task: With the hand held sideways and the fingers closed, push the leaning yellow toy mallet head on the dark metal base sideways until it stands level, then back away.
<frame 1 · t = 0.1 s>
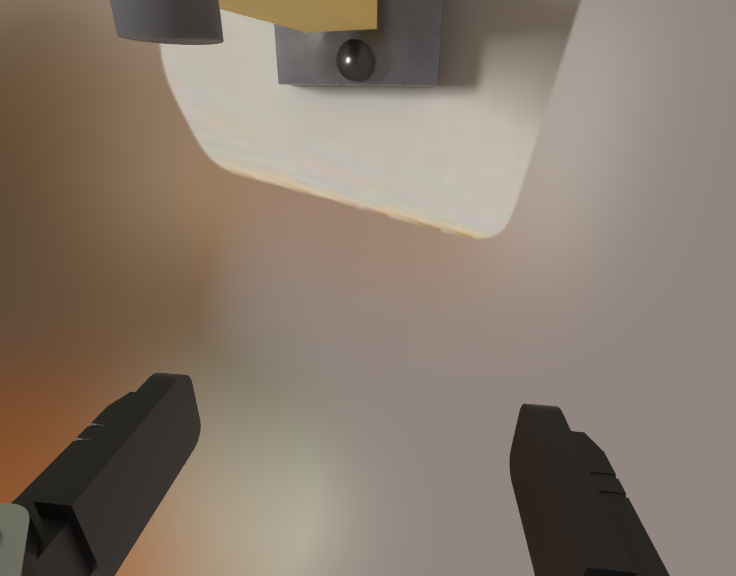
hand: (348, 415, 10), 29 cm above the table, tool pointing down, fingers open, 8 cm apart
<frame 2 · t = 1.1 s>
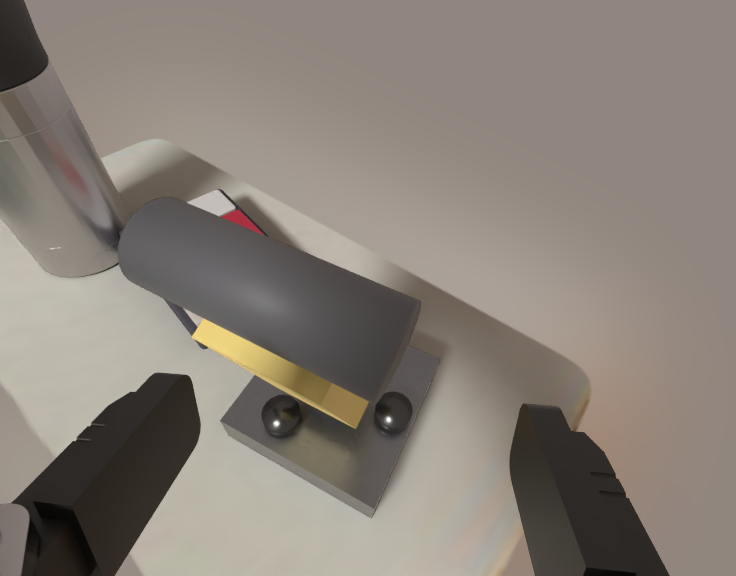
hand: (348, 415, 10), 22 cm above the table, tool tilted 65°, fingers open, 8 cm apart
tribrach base: (337, 404, 33), on the table
yellow toy mallet: (311, 346, 21), point 13 cm above the table, hinge at 18.0°
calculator: (217, 274, 41), on the table
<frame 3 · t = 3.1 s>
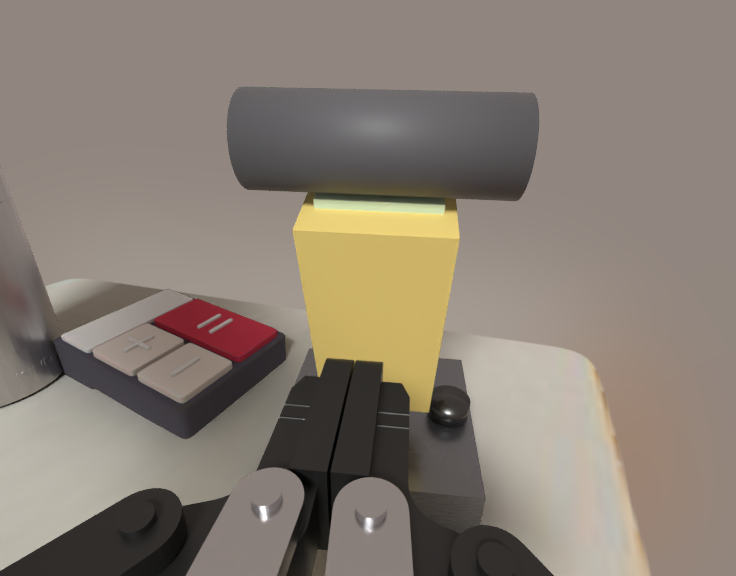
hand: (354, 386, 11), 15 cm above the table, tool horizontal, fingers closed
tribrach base: (376, 440, 28), on the table
yellow toy mallet: (379, 287, 20), point 13 cm above the table, hinge at 18.0°
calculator: (180, 370, 35), on the table
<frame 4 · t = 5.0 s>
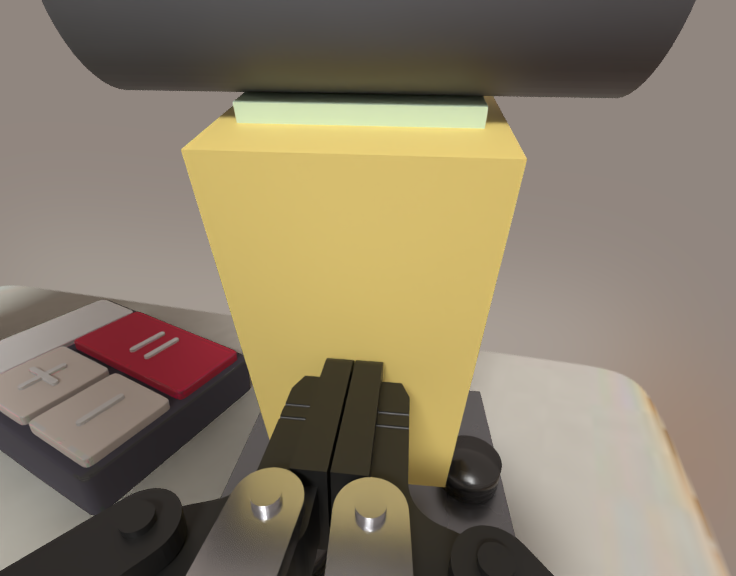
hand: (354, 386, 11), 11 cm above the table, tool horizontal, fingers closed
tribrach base: (366, 512, 20), on the table
yellow toy mallet: (365, 286, 12), point 13 cm above the table, hinge at 14.2°, touching gripper
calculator: (111, 407, 27), on the table
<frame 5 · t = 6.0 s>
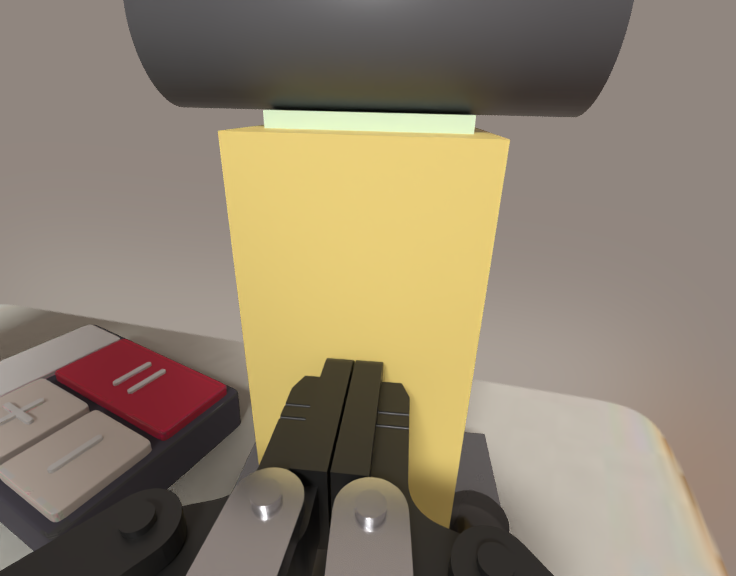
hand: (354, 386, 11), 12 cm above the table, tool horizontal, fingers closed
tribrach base: (360, 571, 18), on the table
yellow toy mallet: (366, 301, 13), point 13 cm above the table, hinge at 0.2°, touching gripper
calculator: (92, 442, 25), on the table
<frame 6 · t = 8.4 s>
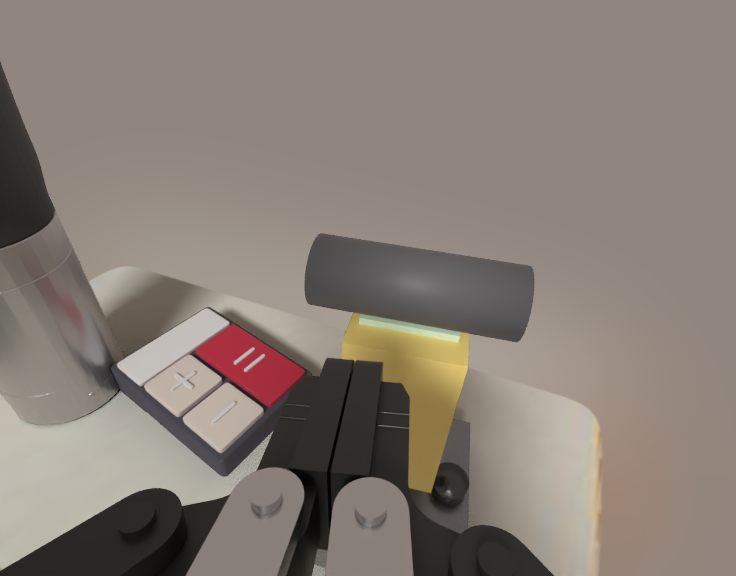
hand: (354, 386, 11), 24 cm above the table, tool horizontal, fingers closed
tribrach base: (384, 492, 32), on the table
yellow toy mallet: (401, 382, 24), point 13 cm above the table, hinge at 0.1°
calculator: (219, 394, 40), on the table
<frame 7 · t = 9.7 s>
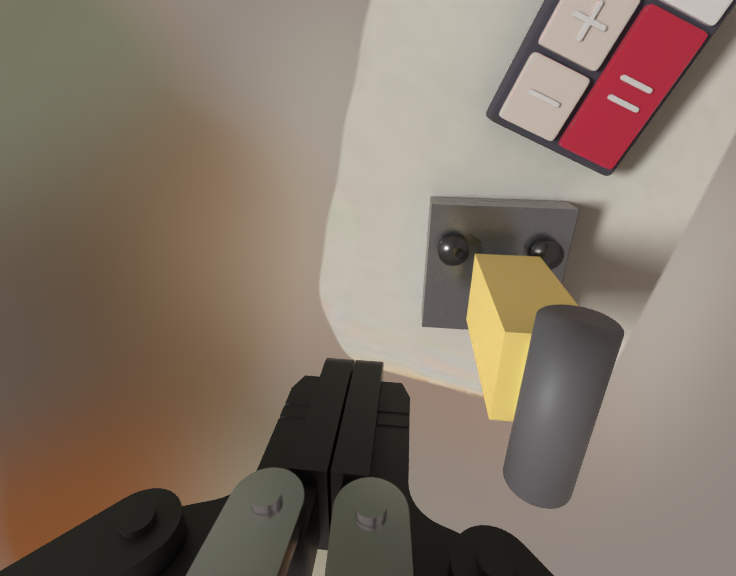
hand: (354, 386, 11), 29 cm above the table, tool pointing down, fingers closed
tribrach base: (488, 260, 39), on the table
yellow toy mallet: (521, 334, 27), point 13 cm above the table, hinge at 0.1°
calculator: (594, 51, 32), on the table
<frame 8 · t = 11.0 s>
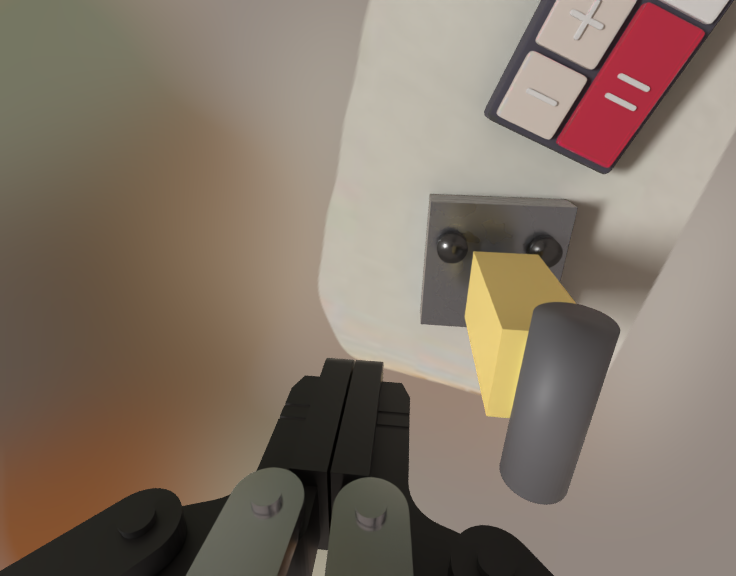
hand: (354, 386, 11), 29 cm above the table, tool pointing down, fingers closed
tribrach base: (487, 258, 39), on the table
yellow toy mallet: (519, 331, 27), point 13 cm above the table, hinge at 0.1°
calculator: (592, 49, 32), on the table
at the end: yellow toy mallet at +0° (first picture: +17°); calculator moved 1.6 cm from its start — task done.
